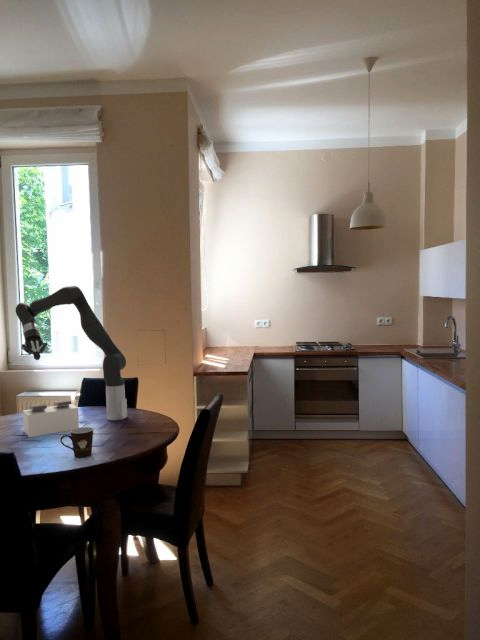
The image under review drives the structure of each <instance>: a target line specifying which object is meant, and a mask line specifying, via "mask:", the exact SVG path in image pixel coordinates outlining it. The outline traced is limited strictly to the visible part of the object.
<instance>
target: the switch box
mask: <svg viewBox="0 0 480 640" xmlns="http://www.w3.org/2000/svg"><path fill="white" fill-rule="evenodd" d="M22 419H23V422H22V423H23V432H24V433H25V435H26V436H27V435H28V436H27V437H28V438H34V437H38V436H44V435H50V434H55V433H61V432H62V433H63V432H66V431H71V430H73V429H76V428H80V424H79V421H80V420H79V407H78V406H77V405H74V404H73V403H71V404H69V405H62V406H54V405H51V406H47V408H46V409H39V410H31V409H23V410H22Z"/></svg>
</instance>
